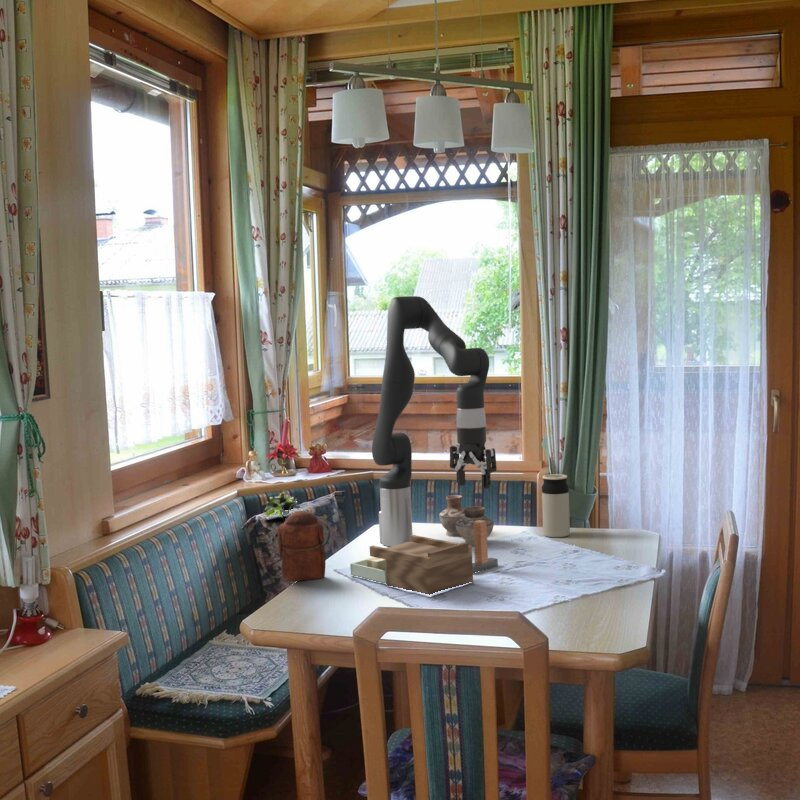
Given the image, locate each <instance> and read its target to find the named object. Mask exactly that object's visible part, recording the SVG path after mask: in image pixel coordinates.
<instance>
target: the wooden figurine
mask: <svg viewBox="0 0 800 800" xmlns="http://www.w3.org/2000/svg"><path fill="white" fill-rule="evenodd" d="M318 520H319V519H318V518H317V516H316V515H315V514H313V512H310V511H307V510H298V511H294V512H292V514H291V515H287V517H286V518H285V521H284V522H282V523H281V524H280V525H279V526H278V527H277V546H278V549H277V550H278V555H279V558H280V559H281V566H280V569H281V579H282V581H283V582H301V581H309V580H310V581H311V580H319V579H323V578H325V574H326V552H325V551H326V549H325V546H324V545H323V544H324V542H325V537H324V536H325V535H324V526H323V524H322V523H321V522H319V521H318ZM300 580H301V581H300Z"/></svg>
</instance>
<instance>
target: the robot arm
mask: <svg viewBox="0 0 800 800" xmlns="http://www.w3.org/2000/svg"><path fill="white" fill-rule="evenodd" d="M386 319H387V323H386V324H387V325H386V326H387V328H386V346H385V347H386V349H385V356H384V357H385V359H384V367H383V372H382V381H381V389H380V401H379V409H378V415H377V419H376V424H375V428H374V433H373V438H372V442H371V443H372V445H371V446H372V447H371V455H372V459H373V461H374V463H375V464H376V465H378V466H384V467H385V466H391V465H392V466H391V469H390V470H389V471H388V472H386V474H384V475H382V476H381V477H380V478H379V482H378V485H379V498H380V499H379V501H380V510H379V512H378V525H379V526H378V527H379V530H378V531H379V543H380V544H382V545H383V546H386V547H391V546H395V545H399V544H402V543H406V542H410V536H411V535H413V517H412V515H413V514H412V498H411V497H412V495H411V494H412V493H411V479H412V467H413V466H412V463H413V461H412V459H413V457H412V456H413V455H412V452H413V451H412V444H411V440H410V437H409V436H408V435H407V433H404V432H394V428H395V424H396V423H397V421H398V419H399V417H400V416H401V414H402V413H403V411H404V410H405V408H406V407H407V406H408V405H409V403H410V401H411V399H412V397H413V392H414V386H415V380H416V379H415V378H416V374H415V373H416V372H415V369H414V367H413V364H412V362H411V360H410V358H409V356H408V353H407V351H406V349H405V342H404V341H405V339H404V337H405V330H413V329H414V330H416V329H417V330H418V329H422V330H424V331H426V332H428V334H427V338H428V342H429V344H430V346H431V348H432V349H433V350H434V351H435V352H436V353H437V354H438V355H439V356H441V358H442V359H444V362H445V364H446V365H447V367H448V370H449V371H450V373H451V374H453V375H455V376H457V377H467V376H468V377H469V376H470V377H469V379H468V382H467V383H466V384H462V385H460V386H458V387H457V389H456V435H457V436H456V438H457V440H456V441H457V444H456V445H452V446H449V468H450V469H454V471H455V472H456V483H457V485H458V486H460V487H461V486H465V485H466V471H465V469H466V466H467V465H469V464H471V465H475V466H476V467H477V468H478V469H479V470H480V472H481V488H482V489H484V490H486V489H489V488H490V487H491V484H492V482H491V474H492V473H494V472H497V469H498V468H497V458H496V457H497V456H496V449H495V448H489V449H487V448H486V447H485V445H486V442H487V427H486V426H487V425H486V424H487V423H486V422H487V421H486V411H485V398H484V396H485V395H484V393H485V387H486V383H487V379H488V374H489V370H490V358H489V355H488V353H487V351H486V350H485V349H483V348H481V347H474V348H473V347H471V348H467V344H466V343H465V341H464V340H463V338H462V337H461V336H459V335H458V334H457V333H456V332H454V330H452V329H451V328H449V327H448V325H447V324H445V322H444V321H443V320H442V318H441V317H440V316H439V314H438V313H437V312H436V311H435V309H434V308H433V307H432V305H431V304H430V303H429V302H428V301H427V300H426V298H424V297H422V296H418V295H417V296H416V295H414V296H409V295H408V296H394V297H393V298H392V299H391V301H390V302H389V305H388V309H387V318H386ZM458 444H459V445H458Z"/></svg>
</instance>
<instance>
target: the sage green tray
mask: <svg viewBox="0 0 800 800" xmlns="http://www.w3.org/2000/svg"><path fill="white" fill-rule="evenodd" d="M371 558H375V557H372V556H371V557H369V558H364V559H362V560H358V561H354V562H350V576H351V575H353V576H358V577H362V578H365V579H369V580H373V581H376V582H381V583H386V584H387V571H384V570H380V569H376V568H371V567H367V560H368V559H371Z"/></svg>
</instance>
